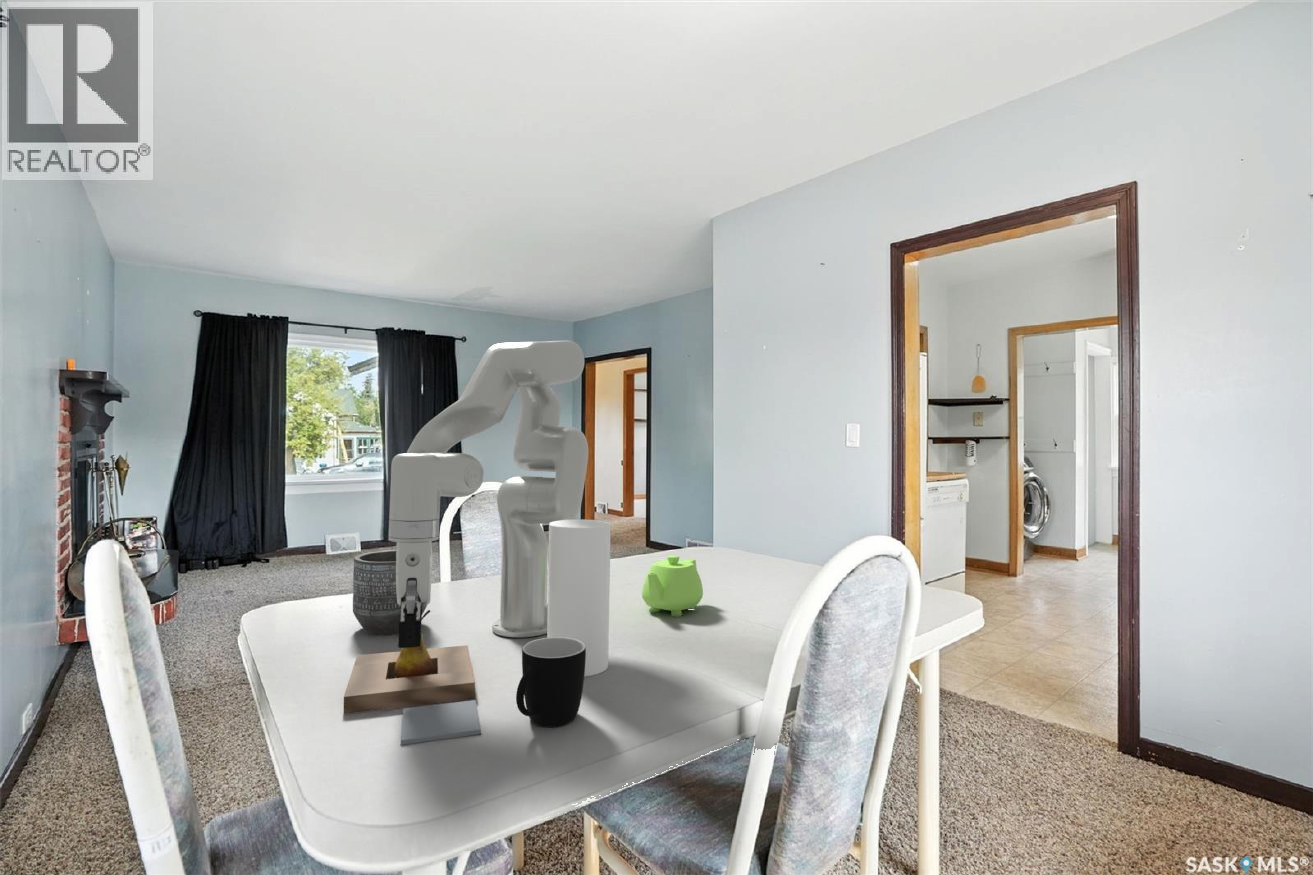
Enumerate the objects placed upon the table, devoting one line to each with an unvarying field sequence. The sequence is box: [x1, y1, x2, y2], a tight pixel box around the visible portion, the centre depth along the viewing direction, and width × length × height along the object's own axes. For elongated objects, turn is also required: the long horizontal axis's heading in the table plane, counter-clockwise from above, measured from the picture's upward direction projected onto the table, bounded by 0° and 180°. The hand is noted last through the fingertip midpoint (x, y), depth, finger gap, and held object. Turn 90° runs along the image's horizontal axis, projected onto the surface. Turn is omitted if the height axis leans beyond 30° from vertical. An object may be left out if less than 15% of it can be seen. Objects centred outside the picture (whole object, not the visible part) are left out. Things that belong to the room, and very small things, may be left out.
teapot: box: [641, 555, 704, 617], centre depth 148 cm, size 20×13×13 cm
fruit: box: [395, 609, 432, 678], centre depth 102 cm, size 6×6×12 cm
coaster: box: [400, 699, 482, 746], centre depth 88 cm, size 10×10×1 cm
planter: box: [352, 549, 428, 636], centre depth 131 cm, size 14×14×15 cm
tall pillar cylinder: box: [546, 518, 612, 678], centre depth 111 cm, size 11×11×25 cm
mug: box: [515, 637, 586, 728], centre depth 89 cm, size 12×9×10 cm
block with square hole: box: [343, 644, 476, 715], centre depth 102 cm, size 18×18×2 cm
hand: (410, 637), depth 101 cm, fingers open, 9 cm apart
